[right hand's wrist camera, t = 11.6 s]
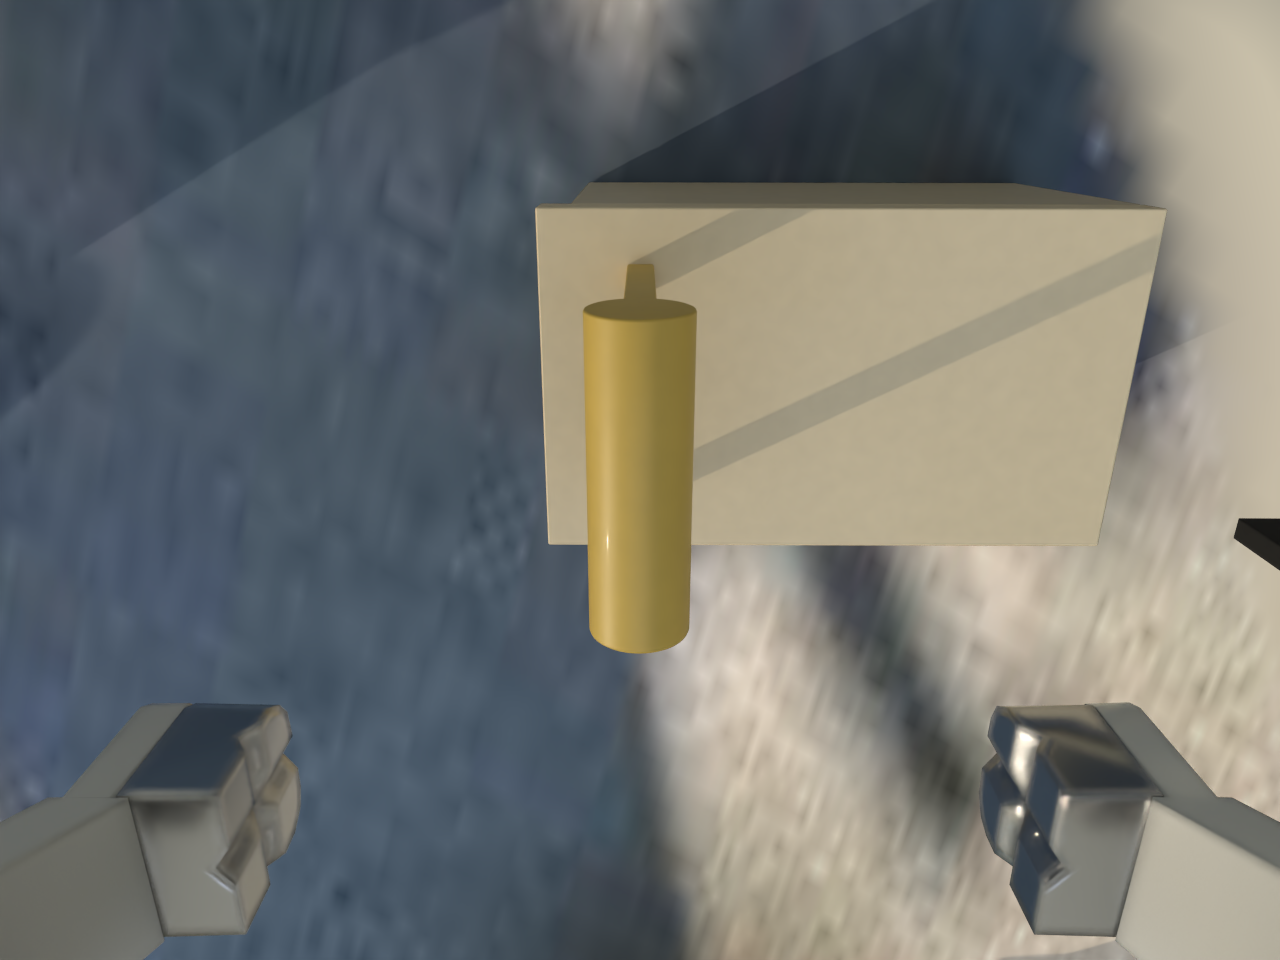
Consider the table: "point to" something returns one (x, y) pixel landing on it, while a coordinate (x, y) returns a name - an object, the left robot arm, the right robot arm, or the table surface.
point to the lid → (827, 381)
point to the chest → (831, 194)
